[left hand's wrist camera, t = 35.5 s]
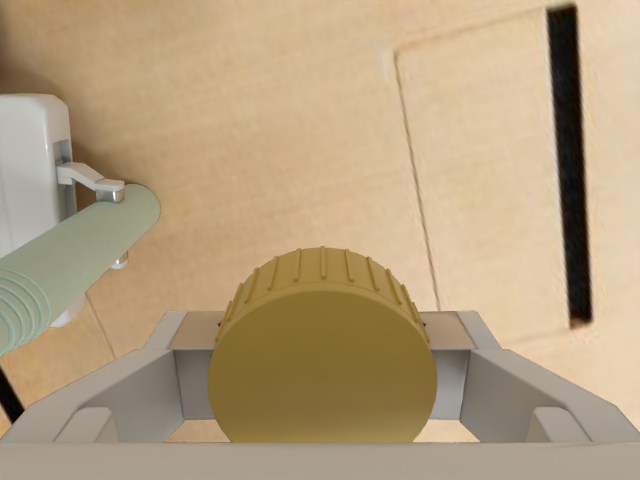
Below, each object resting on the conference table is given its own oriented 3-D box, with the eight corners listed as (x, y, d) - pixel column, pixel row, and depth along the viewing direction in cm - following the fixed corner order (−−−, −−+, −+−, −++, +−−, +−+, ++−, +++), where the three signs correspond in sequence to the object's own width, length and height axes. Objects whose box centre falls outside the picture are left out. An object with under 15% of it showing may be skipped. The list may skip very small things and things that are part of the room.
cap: (372, 430, 11) (383, 502, 9) (202, 380, 11) (177, 446, 9) (451, 283, 10) (483, 333, 8) (259, 215, 9) (243, 252, 7)
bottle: (113, 178, 41) (-125, 305, 19) (163, 190, 42) (-11, 328, 19) (109, 223, 43) (-114, 391, 20) (157, 234, 43) (-9, 409, 21)
